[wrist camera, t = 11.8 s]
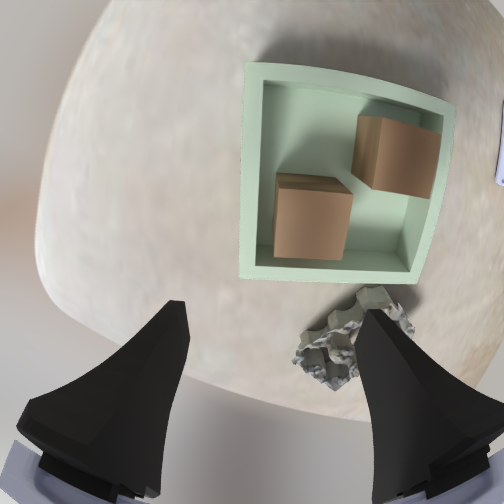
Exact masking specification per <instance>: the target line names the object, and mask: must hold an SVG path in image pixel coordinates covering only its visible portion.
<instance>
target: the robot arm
mask: <svg viewBox="0 0 504 504" xmlns="http://www.w3.org/2000/svg"><path fill="white" fill-rule="evenodd" d="M495 180H496V183H497V184H499V185H502V186H504V105H503V125H502V136H501V145H500V153H499V160H498V166H497V172H496V177H495ZM189 342H190V333H189V327H188V321H187V314H186V307H185V301H174V300H170V301H168V302H167V303H166V304H165V305H164V306H163V307H162V308H161V309H160V311H159V312H158V313H157V314H156V315H155V316H154V317H153V318H152V319H151V320H150V321H149V322H148V323H147V324H146V325H145V326H144V327H143V328H142V329H141V330H140V331H139V332H138V333H137V334H136V335H135V336H134V337H133V338H131V339H130V340H129V341H128V342H127V343H126V344H125V345H124V346H122V347H121V348H120V349H119V350H118V351H117V352H115V353H114V354H113V355H112V356H110V357H109V358H108V359H107V360H105V361H104V362H103V363H101V364H100V365H99V366H97V367H95V368H94V369H92V370H91V371H89V372H87V373H86V374H85V375H83V376H81V377H79V378H78V379H76V380H74V381H72V382H70V383H69V384H67V385H65V386H62V387H60V388H58V389H56V390H54V391H52V392H49V393H47V394H44V395H41V396H39V397H36V398H34V399H30V400H29V402H28V404H27V405H26V407H25V409H24V411H23V413H22V415H21V417H20V419H19V421H18V423H17V425H16V427H17V429H18V431H19V432H20V433H21V434H22V435H23V436H25V437H26V438H27V439H28V440H29V441H31V442H32V443H33V444H34V445H36V446H37V447H38V448H39V449H41V450H42V451H43V454H42V457H41V456H40V455H38V454H37V453H35V452H34V451H32V450H30V449H29V448H27V447H26V446H24V445H23V444H21V443H20V442H18V441H17V440H14V443H13V445H12V448H11V450H10V452H9V455H8V457H7V460H6V463H5V465H4V468H3V471H2V473H1V476H0V488H1V489H2V490H3V491H4V492H6V493H7V494H8V495H9V496H10V497H12V498H13V499H14V500H15V501H17V502H18V503H19V504H148V503H144V502H141V501H138V500H134V498H135V496H136V497H139V498H144V496H145V497H149V498H155V497H157V496H159V495H160V490H161V470H162V462H163V451H164V445H165V438H166V431H167V426H168V420H169V414H170V410H171V407H172V403H173V400H174V397H175V393H176V390H177V387H178V384H179V381H180V378H181V375H182V371H183V368H184V365H185V362H186V358H187V353H188V348H189ZM354 346H355V354H356V360H357V366H358V370H359V373H360V377H361V381H362V384H363V388H364V391H365V395H366V399H367V403H368V406H369V411H370V416H371V423H372V431H373V445H374V481H373V492H372V504H384V503H386V504H501V503H502V502H504V448H503V449H502V450H500V451H499V452H497V453H495V454H494V455H492V456H491V457H489V458H488V457H487V453H488V452H490V447H489V444H490V443H491V442H492V441H494V440H495V439H496V438H497V437H498V436H500V435H501V434H502V433H503V432H504V403H502V402H499V401H497V400H495V399H492V398H490V397H488V396H486V395H484V394H482V393H480V392H478V391H476V390H475V389H473V388H471V387H469V386H468V385H466V384H465V383H463V382H462V381H460V380H459V379H457V378H456V377H454V376H453V375H451V374H450V373H449V372H447V371H446V370H445V369H444V368H442V367H441V366H440V365H439V364H437V363H436V362H435V361H434V360H433V359H432V358H430V357H429V356H428V355H427V354H426V353H425V352H424V351H423V350H422V349H421V348H420V347H419V346H418V345H417V344H416V343H415V342H414V341H412V340H411V339H410V337H409V336H408V335H407V334H406V333H405V332H404V331H403V330H402V329H401V328H400V327H399V326H398V325H397V324H396V323H395V322H394V321H393V320H392V319H391V318H390V317H389V316H388V315H387V314H386V313H385V312H384V311H382V310H381V309H367V312H366V314H365V317H364V320H363V323H362V325H361V328H360V330H359V333H358V336H357V338H356V341H355V343H354ZM401 498H402V499H401ZM398 499H399V500H398ZM395 500H396V501H395ZM391 501H393V502H391ZM388 502H389V503H388Z"/></svg>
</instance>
